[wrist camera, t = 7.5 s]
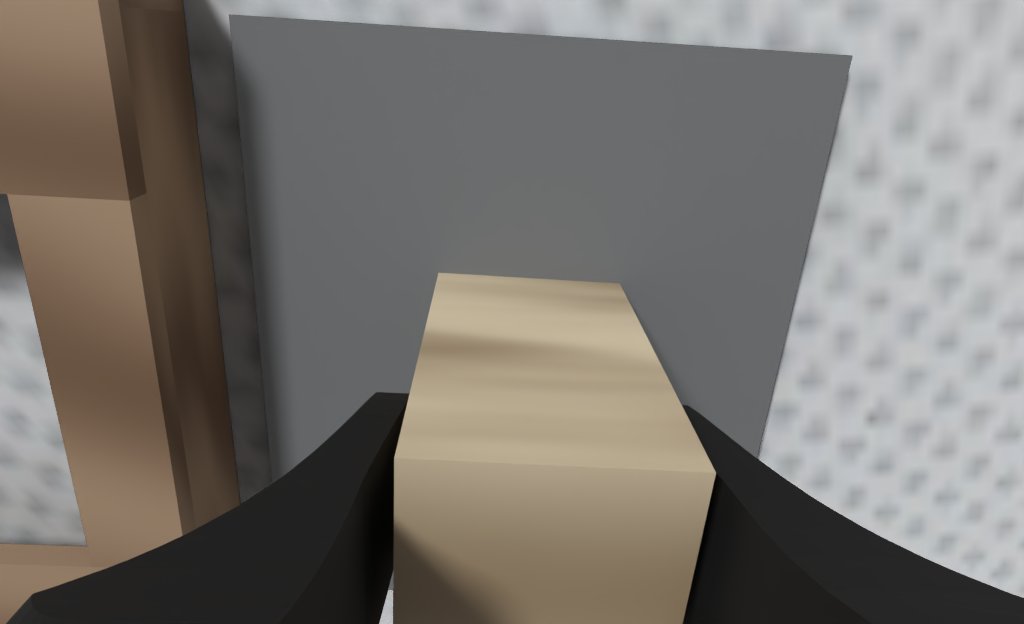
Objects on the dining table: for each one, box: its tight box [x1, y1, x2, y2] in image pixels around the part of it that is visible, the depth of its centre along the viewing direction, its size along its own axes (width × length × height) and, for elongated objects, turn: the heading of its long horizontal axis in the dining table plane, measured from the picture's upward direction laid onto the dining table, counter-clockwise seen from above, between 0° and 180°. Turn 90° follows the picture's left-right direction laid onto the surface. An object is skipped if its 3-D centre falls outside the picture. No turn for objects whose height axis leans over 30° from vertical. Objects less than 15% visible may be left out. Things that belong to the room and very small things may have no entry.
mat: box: [229, 15, 852, 590], centre depth 16 cm, size 14×12×1 cm
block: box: [393, 273, 716, 624], centre depth 12 cm, size 4×4×7 cm
